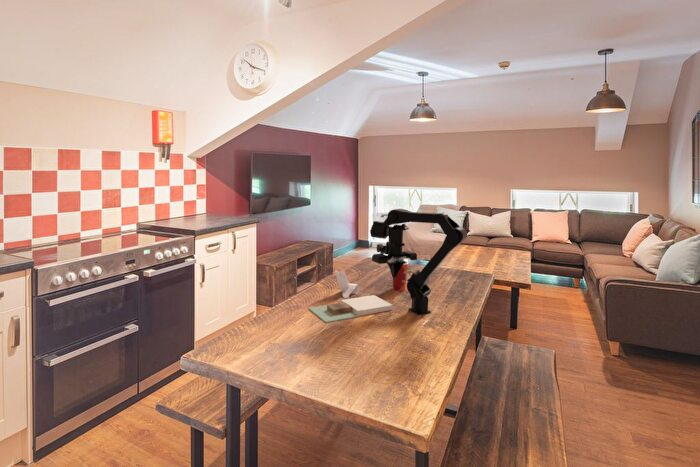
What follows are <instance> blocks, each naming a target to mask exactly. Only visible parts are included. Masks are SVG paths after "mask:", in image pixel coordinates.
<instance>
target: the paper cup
mask: <svg viewBox="0 0 700 467" xmlns="http://www.w3.org/2000/svg"><path fill="white" fill-rule="evenodd" d="M404 261H405V262H406V263H404V264H403V266H402V267H401V269H400V270H399V272H398V274H397V276H396V278H393V277H392V289H393V291H397V292H404V291H405V290H406V287H407V286H406V285H407V277H408V276H407V275H408V267H409V266H408V265H410V264H409V260H408V259H407V258H404Z"/></svg>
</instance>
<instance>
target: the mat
mask: <svg viewBox="0 0 700 467" xmlns="http://www.w3.org/2000/svg"><path fill="white" fill-rule="evenodd" d="M327 305H328V304H326V305H318V306H312V307H308V310H309V311H310V312H312V313H313V314H314V315H316V316H317V317H318V318H319V319H320V320H322V322H324V323H331V322H332V323H333V322H339V321H342V320H349V319H355V318H359V317H360V316H359V315H357V314H356V313H354V312H348V313H342V314H336V315H333V314H332V313H331V312H329V311H328V310H327Z"/></svg>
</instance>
